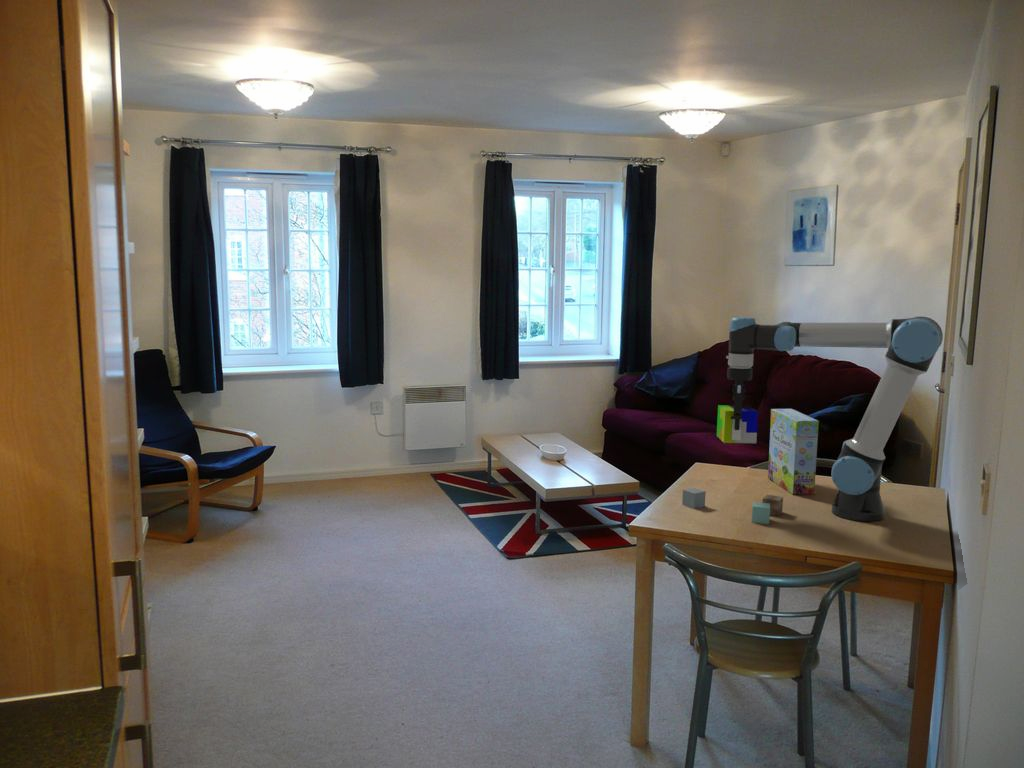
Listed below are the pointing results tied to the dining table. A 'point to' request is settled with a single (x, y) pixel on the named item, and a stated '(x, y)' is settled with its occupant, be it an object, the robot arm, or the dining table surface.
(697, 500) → the slate grey cube
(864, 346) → the robot arm
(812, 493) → the snack box
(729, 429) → the puzzle toy
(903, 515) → the dining table surface
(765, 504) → the dusty teal cube
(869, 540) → the dining table surface
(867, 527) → the dining table surface
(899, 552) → the dining table surface
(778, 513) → the walnut cube
